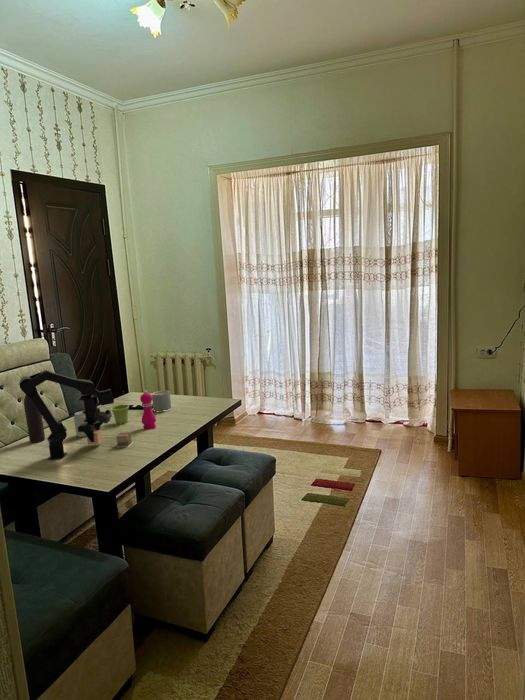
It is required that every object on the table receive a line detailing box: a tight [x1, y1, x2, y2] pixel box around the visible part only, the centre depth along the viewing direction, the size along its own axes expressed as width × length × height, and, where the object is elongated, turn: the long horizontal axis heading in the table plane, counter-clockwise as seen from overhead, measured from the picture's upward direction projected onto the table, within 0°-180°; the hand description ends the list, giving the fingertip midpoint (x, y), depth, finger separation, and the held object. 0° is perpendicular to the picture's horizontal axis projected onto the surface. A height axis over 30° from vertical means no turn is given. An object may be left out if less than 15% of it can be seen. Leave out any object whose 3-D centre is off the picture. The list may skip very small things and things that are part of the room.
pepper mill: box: [139, 390, 157, 431], centre depth 250 cm, size 7×7×20 cm
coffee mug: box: [151, 390, 172, 411], centre depth 283 cm, size 13×10×10 cm
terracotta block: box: [86, 429, 104, 445], centre depth 228 cm, size 5×5×5 cm
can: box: [73, 410, 87, 438], centre depth 247 cm, size 8×8×12 cm
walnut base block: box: [116, 431, 133, 448], centre depth 227 cm, size 5×5×5 cm
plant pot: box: [110, 404, 130, 425], centre depth 264 cm, size 9×9×9 cm
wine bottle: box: [23, 394, 46, 444], centre depth 243 cm, size 7×7×30 cm
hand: (95, 440), depth 228 cm, fingers closed on terracotta block, 5 cm apart
